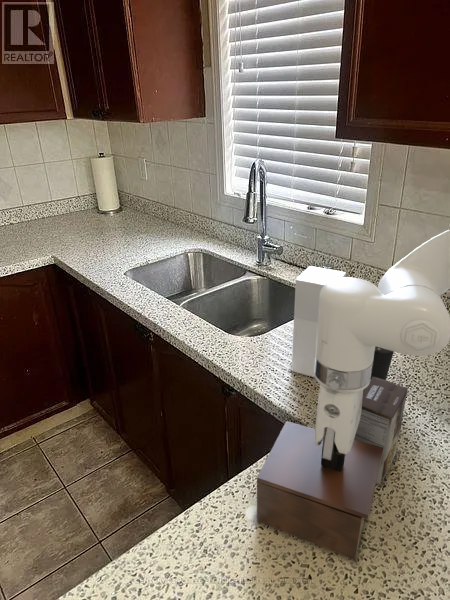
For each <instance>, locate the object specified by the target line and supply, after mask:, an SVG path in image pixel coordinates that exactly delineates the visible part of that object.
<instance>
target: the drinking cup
mask: <svg viewBox="0 0 450 600" xmlns="http://www.w3.org/2000/svg"><path fill="white" fill-rule="evenodd" d="M394 353H395V352H394V351H391V350H387V349H383V348H380V347H376V346H375V351H374V358H373V365H372V372H371V378H372V377H377V378H380V379H383V380H386V381H387V377H388V373H389V370H390V367H391V364H392V361H393V358H394V357H393V356H394ZM370 380H371V379H370ZM363 391H364V389H363Z"/></svg>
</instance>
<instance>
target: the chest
mask: <svg viewBox="0 0 450 600" xmlns="http://www.w3.org/2000/svg"><path fill="white" fill-rule="evenodd" d="M365 519H366V518H363V517H360V516H357V515H354V514H351V513H348V512H345V511H342V510H339V509H336V508H334V507H331V506H328V505H325V504H322V503H319V502H316V501H313V500H310V499H307V498H304V497H301V496H298V495H295V494H293V493H290V492H287V491H284V490H281V489H278V488H275V487H272V486H269V485H266V484H263V483H260V482H257V481H256V522H258V523H261V524H263V525H266V526H267V527H271V528H273V529H276V530H279V531H280V532H283V533H286V534H288V535H291V536H293V537H296V538H299V539H301V540H304V541H305V542H308V543H311V544H313V545H316V546H318V547H321V548H324V549H326V550H328V551H331V552H333V553H336V554H339V555H341V556H344V557H346V558H348V559H350V560H353V561H356V560H357V559H356V558H357V554H358V550H359V545H360V541H361V537H362V533H363V528H364V524H365Z"/></svg>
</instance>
